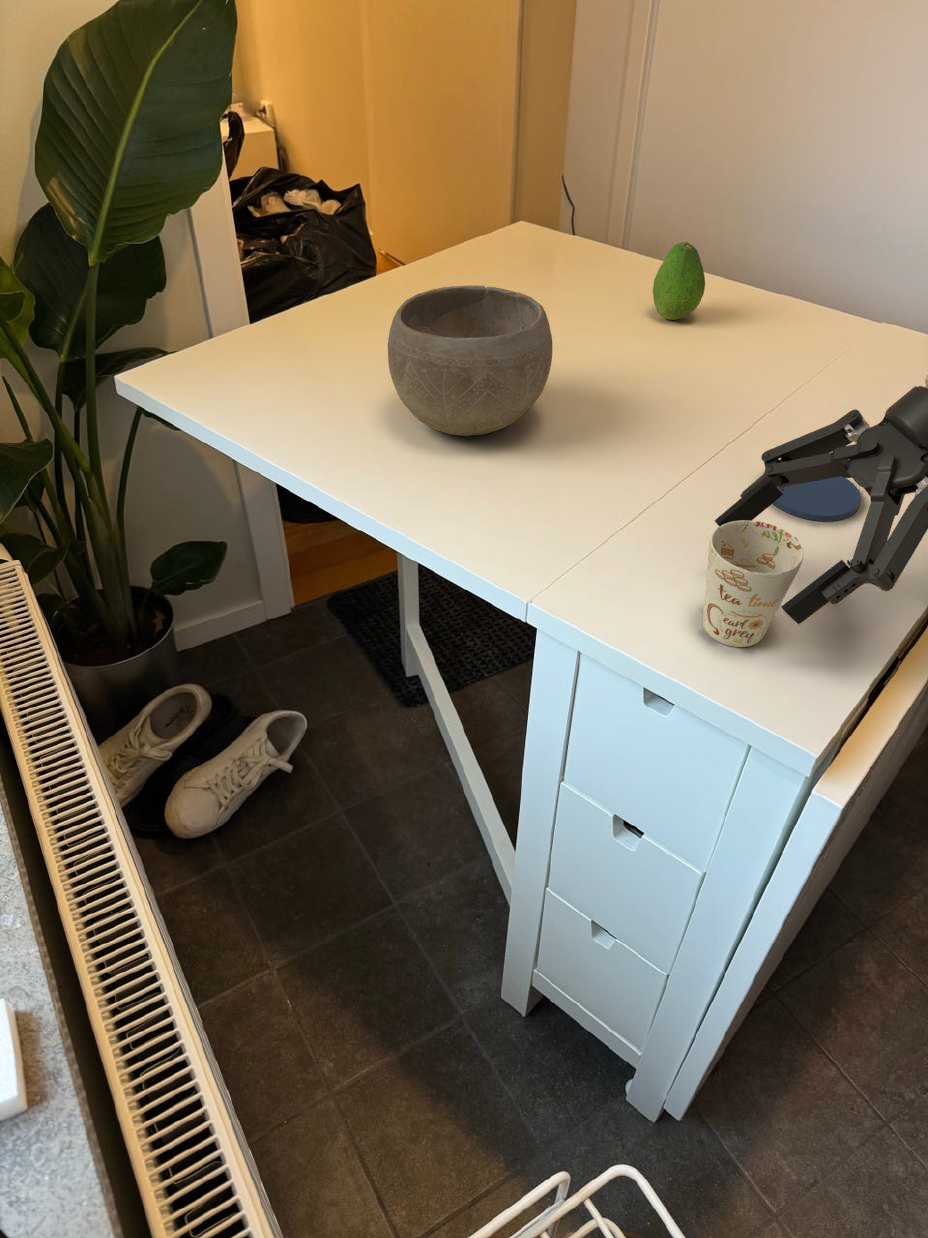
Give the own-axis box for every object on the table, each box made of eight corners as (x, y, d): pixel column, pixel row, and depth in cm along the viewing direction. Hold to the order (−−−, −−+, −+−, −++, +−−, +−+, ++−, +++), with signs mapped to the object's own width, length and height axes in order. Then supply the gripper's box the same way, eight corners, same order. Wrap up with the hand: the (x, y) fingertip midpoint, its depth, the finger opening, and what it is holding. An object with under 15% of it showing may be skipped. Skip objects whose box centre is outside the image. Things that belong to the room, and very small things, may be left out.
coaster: (879, 505, 105) (881, 500, 104) (811, 531, 101) (813, 525, 100) (810, 462, 112) (812, 456, 112) (744, 484, 108) (745, 478, 107)
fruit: (699, 311, 147) (713, 236, 139) (697, 330, 141) (712, 253, 134) (650, 305, 149) (662, 231, 141) (646, 324, 143) (658, 248, 135)
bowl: (387, 384, 126) (383, 278, 116) (533, 380, 127) (541, 275, 117) (393, 463, 110) (389, 347, 100) (559, 457, 112) (571, 343, 102)
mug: (673, 624, 88) (692, 543, 82) (745, 572, 95) (768, 493, 88) (744, 668, 84) (771, 586, 77) (815, 610, 90) (845, 530, 84)
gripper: (1064, 514, 71) (841, 675, 79) (884, 374, 89) (716, 516, 97) (1037, 464, 67) (803, 640, 74) (853, 328, 85) (680, 480, 92)
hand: (753, 570), depth 85 cm, fingers open, 13 cm apart
